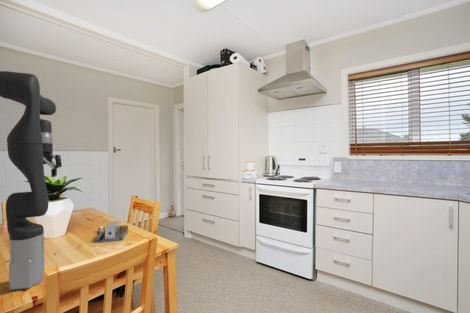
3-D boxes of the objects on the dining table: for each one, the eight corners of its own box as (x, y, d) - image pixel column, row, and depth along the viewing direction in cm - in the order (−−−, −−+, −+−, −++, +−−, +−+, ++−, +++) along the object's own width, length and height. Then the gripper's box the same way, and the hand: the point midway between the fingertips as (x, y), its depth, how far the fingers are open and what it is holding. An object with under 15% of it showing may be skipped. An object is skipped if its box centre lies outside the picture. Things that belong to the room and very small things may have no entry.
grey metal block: (115, 239, 123) (114, 226, 123) (104, 240, 122) (104, 227, 122) (120, 232, 133) (120, 220, 133) (110, 233, 132) (110, 221, 132)
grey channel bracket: (122, 240, 122) (121, 233, 122) (95, 243, 119) (95, 235, 119) (128, 231, 136) (128, 224, 136) (104, 233, 133) (104, 226, 133)
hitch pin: (103, 234, 132) (103, 229, 132) (98, 235, 131) (98, 230, 131) (103, 230, 138) (102, 226, 138) (97, 231, 136) (97, 226, 136)
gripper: (18, 142, 101) (19, 178, 101) (55, 142, 104) (56, 177, 104) (29, 142, 108) (30, 176, 108) (63, 142, 111) (64, 175, 111)
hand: (43, 177), depth 106 cm, fingers open, 8 cm apart
